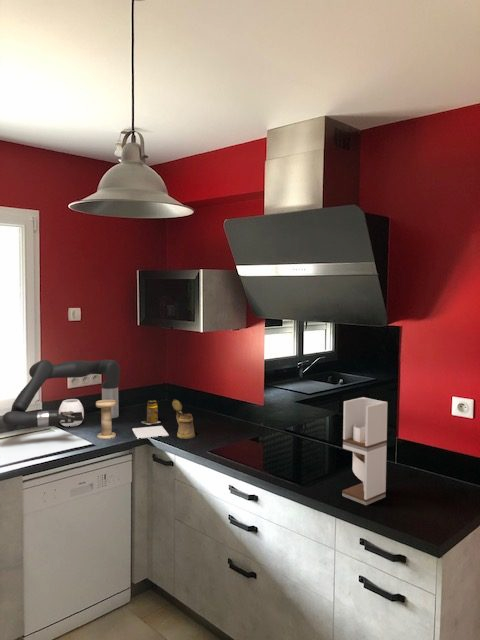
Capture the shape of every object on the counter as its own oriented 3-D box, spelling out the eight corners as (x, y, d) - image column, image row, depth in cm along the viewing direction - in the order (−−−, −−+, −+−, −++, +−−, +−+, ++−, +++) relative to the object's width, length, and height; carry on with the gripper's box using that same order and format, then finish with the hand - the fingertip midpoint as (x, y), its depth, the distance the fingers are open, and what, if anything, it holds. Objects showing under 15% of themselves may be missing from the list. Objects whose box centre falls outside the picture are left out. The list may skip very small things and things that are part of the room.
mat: (132, 429, 278) (132, 428, 278) (161, 426, 284) (161, 425, 283) (137, 438, 261) (137, 437, 261) (168, 435, 267) (168, 434, 267)
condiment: (160, 422, 293) (160, 401, 292) (148, 425, 287) (147, 403, 286) (153, 419, 298) (153, 399, 297) (140, 422, 292) (140, 401, 291)
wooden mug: (180, 431, 275) (180, 397, 274) (198, 436, 266) (198, 401, 265) (167, 434, 268) (167, 400, 267) (185, 440, 259) (185, 404, 258)
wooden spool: (95, 435, 268) (95, 400, 267) (115, 433, 271) (115, 398, 270) (97, 440, 259) (96, 404, 257) (117, 438, 262) (117, 403, 261)
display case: (361, 488, 199) (363, 397, 196) (385, 497, 190) (387, 402, 188) (342, 495, 191) (343, 401, 189) (366, 505, 183) (367, 406, 181)
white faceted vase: (64, 429, 277) (64, 404, 277) (54, 424, 287) (54, 400, 286) (88, 425, 286) (87, 401, 285) (77, 420, 296) (77, 397, 295)
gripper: (47, 414, 248) (83, 411, 253) (47, 407, 261) (81, 405, 267) (47, 429, 248) (83, 427, 254) (48, 422, 262) (81, 420, 267)
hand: (82, 416), depth 260 cm, fingers open, 8 cm apart
